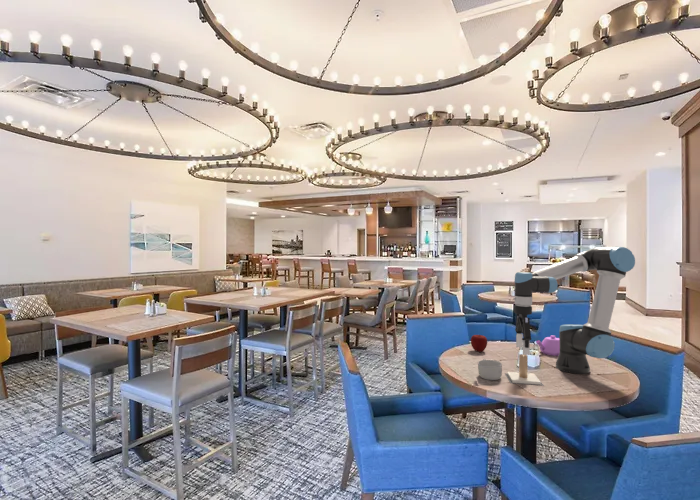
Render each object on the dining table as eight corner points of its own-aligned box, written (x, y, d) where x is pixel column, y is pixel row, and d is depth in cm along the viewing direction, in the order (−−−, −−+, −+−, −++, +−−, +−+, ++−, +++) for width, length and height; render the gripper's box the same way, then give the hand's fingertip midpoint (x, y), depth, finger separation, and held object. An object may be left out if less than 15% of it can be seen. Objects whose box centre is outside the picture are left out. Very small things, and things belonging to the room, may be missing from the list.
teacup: (504, 384, 170) (504, 366, 170) (479, 382, 172) (479, 365, 172) (498, 374, 183) (498, 358, 183) (475, 372, 186) (475, 356, 186)
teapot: (529, 351, 227) (529, 333, 227) (557, 349, 230) (557, 332, 230) (545, 357, 213) (545, 339, 213) (575, 355, 217) (575, 337, 217)
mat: (535, 377, 179) (535, 375, 179) (544, 387, 165) (543, 385, 165) (504, 375, 182) (504, 373, 182) (510, 385, 168) (510, 383, 168)
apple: (485, 354, 220) (485, 337, 220) (468, 351, 225) (468, 335, 225) (488, 350, 228) (488, 334, 228) (473, 348, 233) (473, 332, 233)
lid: (533, 376, 178) (533, 352, 178) (540, 384, 166) (540, 359, 166) (507, 374, 181) (507, 351, 181) (512, 382, 169) (512, 357, 169)
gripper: (509, 301, 187) (508, 343, 186) (520, 308, 162) (520, 357, 162) (525, 302, 185) (524, 344, 185) (539, 309, 161) (538, 358, 160)
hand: (522, 350), depth 173 cm, fingers open, 13 cm apart
